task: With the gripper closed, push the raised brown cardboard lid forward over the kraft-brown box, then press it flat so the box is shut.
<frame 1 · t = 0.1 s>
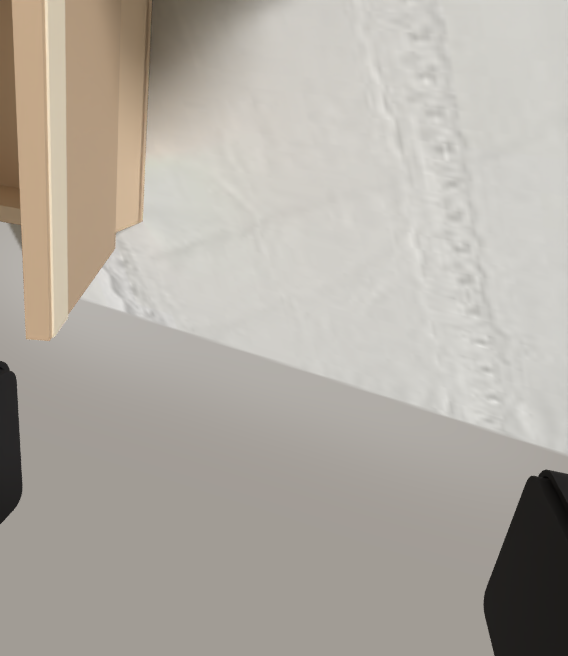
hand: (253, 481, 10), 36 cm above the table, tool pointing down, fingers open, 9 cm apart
box lid: (82, 90, 27), point 16 cm above the table, hinge at 105.0°
cardboard box: (53, 83, 43), on the table
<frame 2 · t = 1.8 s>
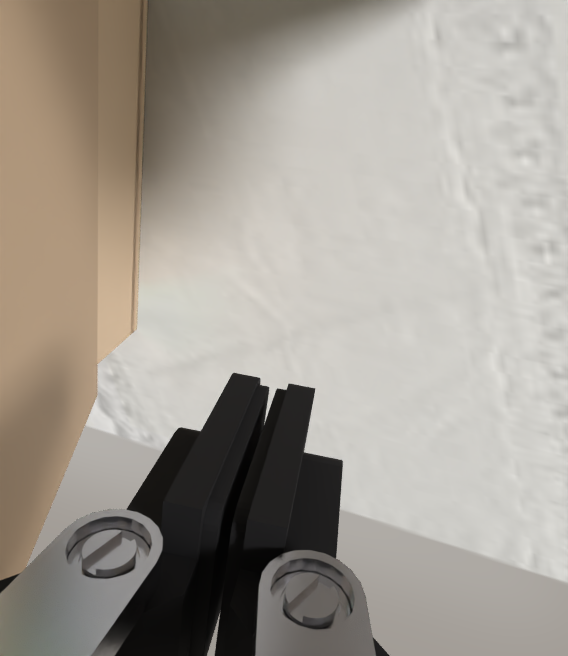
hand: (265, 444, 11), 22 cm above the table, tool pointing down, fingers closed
box lid: (27, 239, 17), point 16 cm above the table, hinge at 105.0°
cardboard box: (17, 156, 32), on the table
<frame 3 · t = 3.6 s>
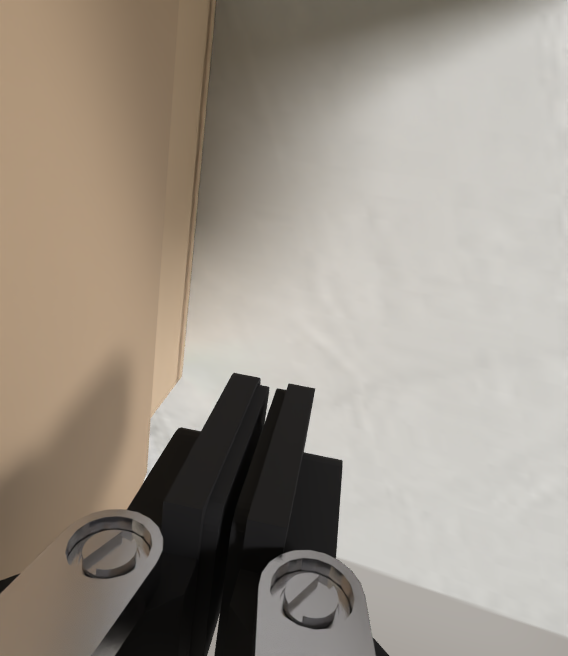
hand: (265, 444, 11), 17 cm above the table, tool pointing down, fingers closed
box lid: (63, 322, 12), point 16 cm above the table, hinge at 98.9°, touching gripper
cardboard box: (49, 175, 27), on the table
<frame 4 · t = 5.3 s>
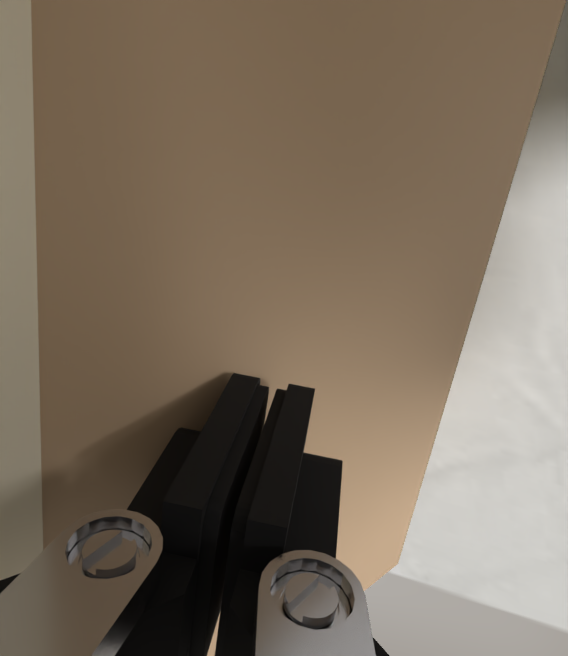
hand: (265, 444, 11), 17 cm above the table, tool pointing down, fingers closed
box lid: (280, 369, 12), point 15 cm above the table, hinge at 52.0°
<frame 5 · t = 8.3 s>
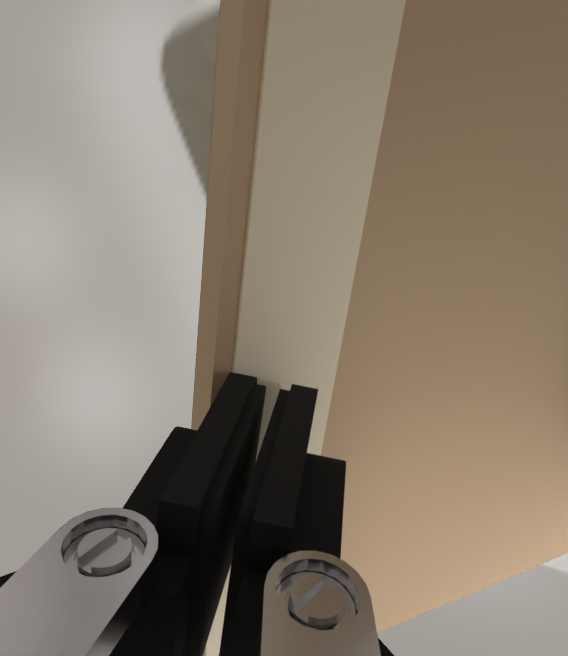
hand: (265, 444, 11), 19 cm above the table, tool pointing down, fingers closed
box lid: (499, 327, 14), point 14 cm above the table, hinge at 37.4°
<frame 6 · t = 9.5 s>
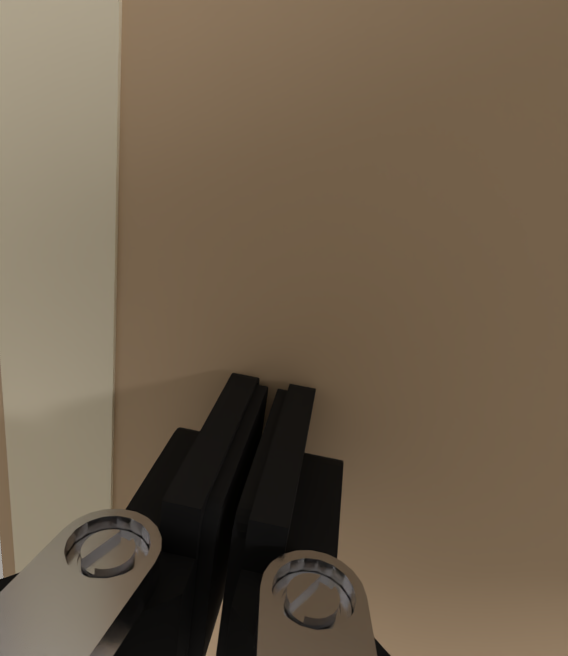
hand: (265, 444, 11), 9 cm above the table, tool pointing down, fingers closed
box lid: (389, 400, 11), point 9 cm above the table, hinge at 1.1°
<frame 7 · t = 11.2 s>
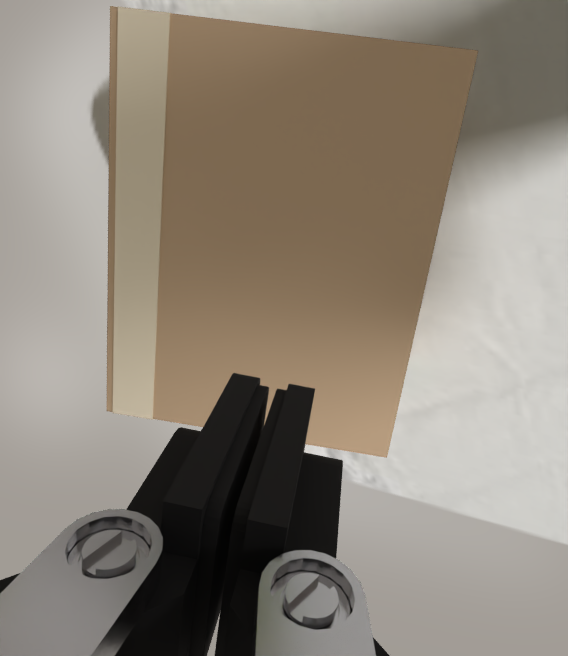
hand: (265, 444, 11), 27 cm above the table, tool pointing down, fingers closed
box lid: (265, 256, 28), point 9 cm above the table, hinge at 0.3°
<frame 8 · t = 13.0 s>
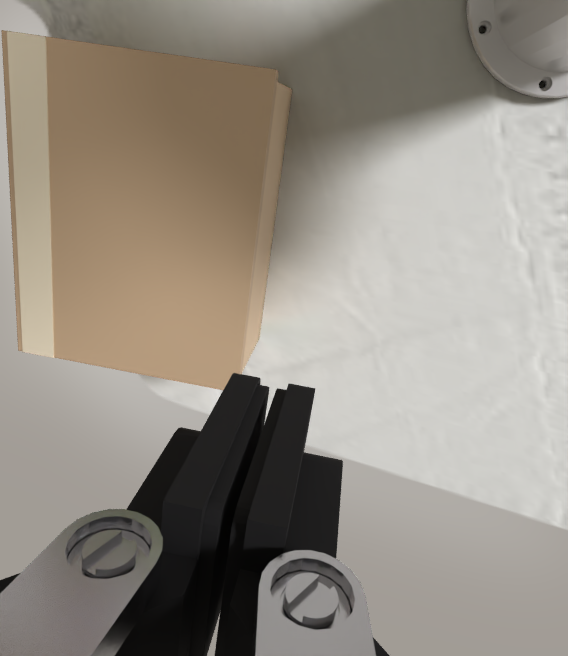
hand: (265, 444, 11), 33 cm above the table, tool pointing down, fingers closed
box lid: (133, 227, 35), point 9 cm above the table, hinge at 0.3°
cardboard box: (178, 208, 43), on the table
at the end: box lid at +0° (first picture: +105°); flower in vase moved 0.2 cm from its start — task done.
